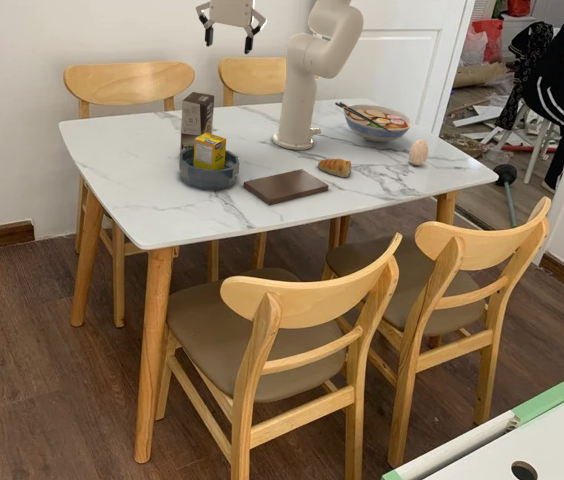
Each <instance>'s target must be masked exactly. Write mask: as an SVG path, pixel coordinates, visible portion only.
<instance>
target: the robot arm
mask: <svg viewBox="0 0 564 480" xmlns="http://www.w3.org/2000/svg"><path fill="white" fill-rule="evenodd" d="M351 2H352V0H316V1H315V4H314V5H313V7H312V9H311V11H310V13H309V15H308V18H307V26H308V28H309V30H310V31H312V32H313V33H315V34H316V35H318V36H315V35H312V34H310V33H305V32H298V33H295V34H293V35H291V36H290V38H289V39H288V41H287V43H286V46H285V52H284V53H285V55H284V57H285V77H284V78H285V79H284V86H283V92H282V103H281V110H280V116H279V124H278V131H277V132H275V133H274V134H272V138H271V140H272V142H273V143H274V144H275V145H277V146H279V147H282V148H284V149H286V150H287V149H288V150H293V151H303V150H304V151H305V150H308V149H310V148H312V147H313V145H314V140H313V138H312V137H313V136H314V135H316V136H317V135H320V134H321V133H322V130H321V128H320V127H316V128H313V127H312V121H313V115H314V108H315V104H316V103H315V102H316V96H317V92H318V82H317V77H321V78H323V79H327V80H331V79H333V78H336V77H337V76H338V75H339V74H340V72H341V71H342V69H343V68H344V66H345V64H346V63H347V61H348V59H349V58H350V55H351V54H352V52H353V50H354V48H355V47H356V45H357V43H358V41H359V39H360V37H361V35H362V33H363V29H364V15H363V14H362V12H361V11H360V10H359V9H358V7H357V8H356V7H355V6H353V5H351ZM207 9H208V18H209V19H208V18H207V16H206V15H205V11H204V10H207ZM195 11H196V14H197V16H198V19H199V21H200V22H201V24H202V25H203V28H204V42H205V46H206V47H210V46H212V45H213V44H214V43H213V42H214V30H215V29H214V27H213V25H214V24H215V23H217V24H222V25H227V26H232V27H237V28H243V29H244V31H245V33H246V34H247V35H246V36H245V41H244V50H243V53H244V54H245V55H248V54H249V53H250V52H252V51H253V47H254V36H256V35H258V33H260V32H261V31H262V29H263V28H264V26H265V25H266V24H267V22H268V20H267V18H266V17H264V16H263V15H262V14H261V13H260V12H259V11H257V9H255V0H209V1H207V2H205V3H202V4H199V5H197V6H195ZM254 19H255V20H256V21H258V24H257V25H256V26H255V27H254V26H253V25H252V24H253V22H254ZM319 36H321V37H324V38H326V39H324V38H321V37H319ZM327 38H328V39H330V40H327Z"/></svg>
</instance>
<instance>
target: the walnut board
mask: <svg viewBox="0 0 564 480" xmlns="http://www.w3.org/2000/svg"><path fill="white" fill-rule="evenodd" d="M242 187H243V188H244V189H245V190H247V191H248V192H250V193H251V194H253V195H254V196H255V197H257V198H258V199H260V200H261V201H262V202H264V203H265V204H267V205H268V206H272V205H274V204H275V205H276V204H280V203H283V202H286V201H291V200H295V199H299V198H303V197H308V196H311V195H315V194H318V193H319V194H320V193H324V192H327V191H328V190H329V187H330V186H329V184H327V183H326V182H324V181H322V180H321V179H320V178H317V177H316V176H315V175H313V174H311V173H309V172H308V171H306V170H304V169H303V168H301V169H296V170H295V169H294V170H291V171H287V172H282V173H277V174H273V175H268V176H263V177H259V178H254V179H250V180H244V181H243V185H242Z"/></svg>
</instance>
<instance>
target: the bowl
mask: <svg viewBox="0 0 564 480" xmlns="http://www.w3.org/2000/svg"><path fill="white" fill-rule="evenodd" d="M191 158H192V159H191ZM240 166H241V163H240V158H239V156H237V155H236V154H235V153H233V152H232V151H230V150H227V149H226V151H225V164H224V169H222V170H207V169H201V168H198V167H194V147H192V148H187V149H185V150H184V151H182V152H181V153H180V152H179V153H178V169H179V171H180V172H181V181H183V182H184V183H186V184H187V185H189V186H190V187H192V188H193V187H194V188H196V189H200V190H208V191H218V190H223V189H227V188H230V187H231V186H232V185H234V184H235V182H236V176H237V175H239V173H240Z"/></svg>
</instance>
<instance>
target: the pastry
mask: <svg viewBox="0 0 564 480" xmlns="http://www.w3.org/2000/svg"><path fill="white" fill-rule="evenodd" d="M317 166H318V168H319V170H321V171H322V172H323V173H327V174H330V175H333V176H335V177H337V176H338V177H340V178H348V177H349V176H350V172H351V171H352V161H351V160H345V159H343V158H327V159H321V160H320V161H318V163H317Z"/></svg>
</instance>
